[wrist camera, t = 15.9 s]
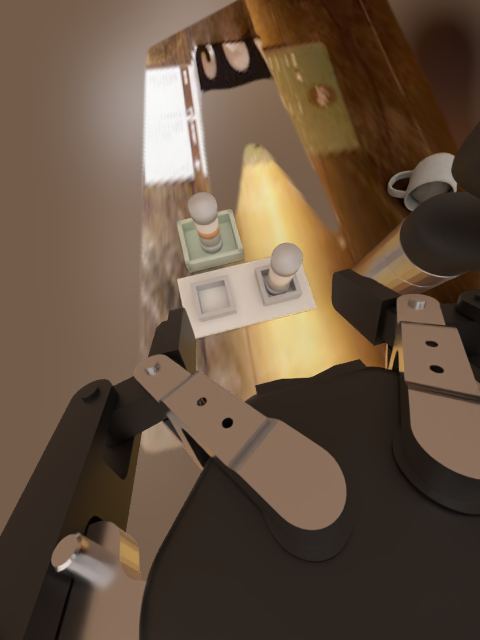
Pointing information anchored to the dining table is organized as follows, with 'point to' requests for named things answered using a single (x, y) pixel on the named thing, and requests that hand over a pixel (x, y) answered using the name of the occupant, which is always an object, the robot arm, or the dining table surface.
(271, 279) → the fuse
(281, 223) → the dining table surface
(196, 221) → the ball
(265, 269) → the fuse board
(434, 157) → the ceramic mug
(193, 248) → the parts tray
